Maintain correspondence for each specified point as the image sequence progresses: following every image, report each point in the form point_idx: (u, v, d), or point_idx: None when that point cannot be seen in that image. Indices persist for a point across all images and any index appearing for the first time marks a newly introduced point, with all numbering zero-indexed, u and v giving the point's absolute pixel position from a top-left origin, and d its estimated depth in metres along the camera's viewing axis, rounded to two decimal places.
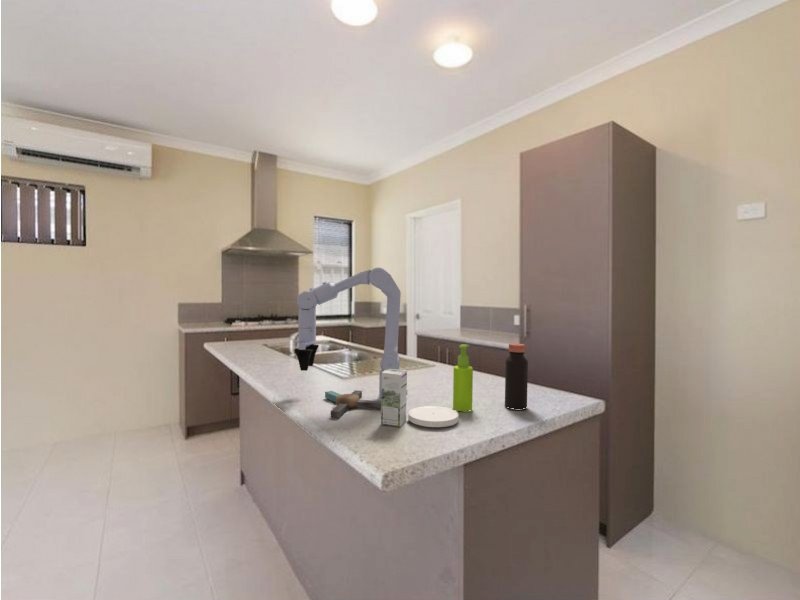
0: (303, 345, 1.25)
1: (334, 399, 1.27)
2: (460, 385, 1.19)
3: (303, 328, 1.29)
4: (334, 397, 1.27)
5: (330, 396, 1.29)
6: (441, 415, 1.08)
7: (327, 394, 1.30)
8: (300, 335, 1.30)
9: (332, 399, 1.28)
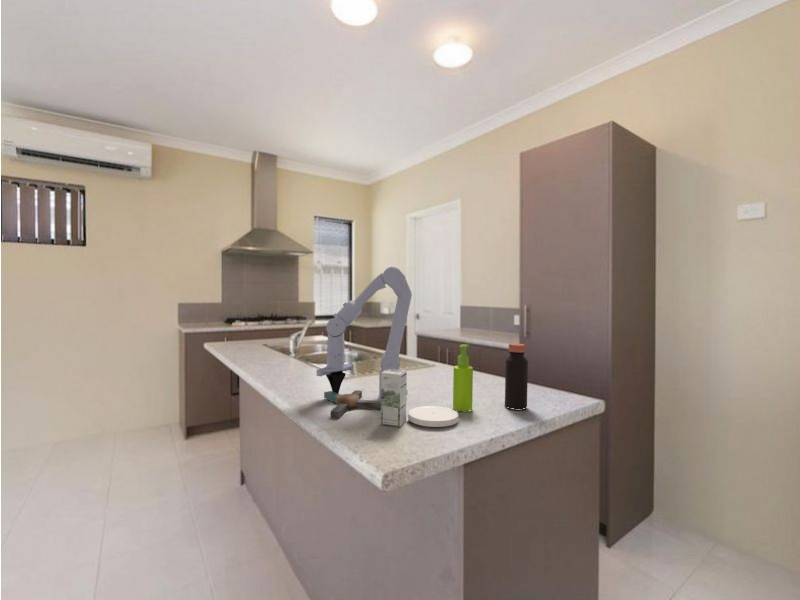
0: (319, 372, 1.26)
1: (334, 399, 1.27)
2: (460, 385, 1.19)
3: (328, 354, 1.30)
4: (334, 397, 1.27)
5: (329, 396, 1.29)
6: (441, 415, 1.08)
7: (326, 394, 1.30)
8: (327, 361, 1.31)
9: (331, 399, 1.28)
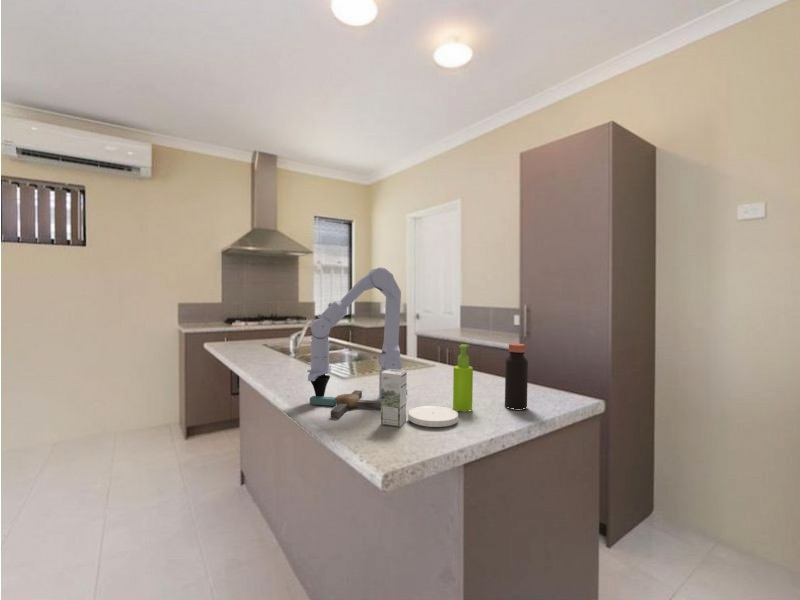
0: (312, 376, 1.19)
1: (328, 402, 1.23)
2: (460, 385, 1.19)
3: (315, 358, 1.24)
4: (328, 400, 1.23)
5: (320, 401, 1.24)
6: (440, 415, 1.08)
7: (314, 399, 1.24)
8: (312, 364, 1.25)
9: (324, 403, 1.23)
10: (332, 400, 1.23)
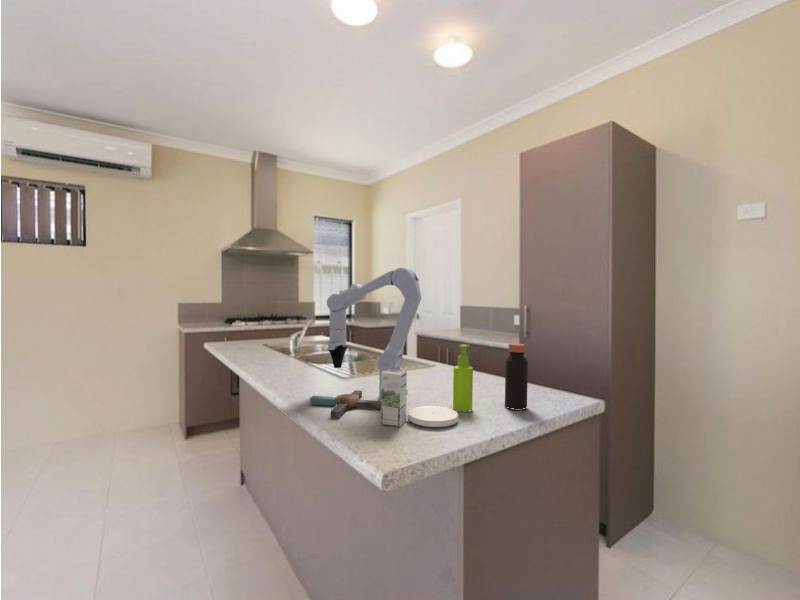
0: (332, 345, 1.30)
1: (328, 402, 1.23)
2: (460, 385, 1.19)
3: (333, 329, 1.34)
4: (328, 400, 1.23)
5: (320, 401, 1.24)
6: (440, 415, 1.09)
7: (314, 399, 1.24)
8: (331, 336, 1.35)
9: (324, 403, 1.23)
10: (332, 400, 1.23)
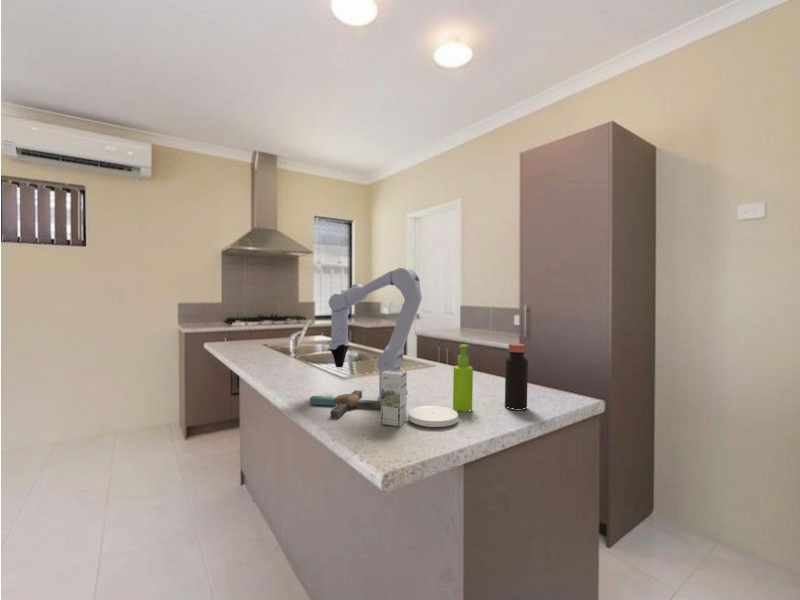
0: (334, 345, 1.31)
1: (328, 402, 1.23)
2: (460, 385, 1.19)
3: (335, 329, 1.35)
4: (328, 400, 1.23)
5: (320, 401, 1.24)
6: (440, 415, 1.09)
7: (314, 399, 1.24)
8: (332, 335, 1.36)
9: (324, 403, 1.23)
10: (332, 400, 1.23)
